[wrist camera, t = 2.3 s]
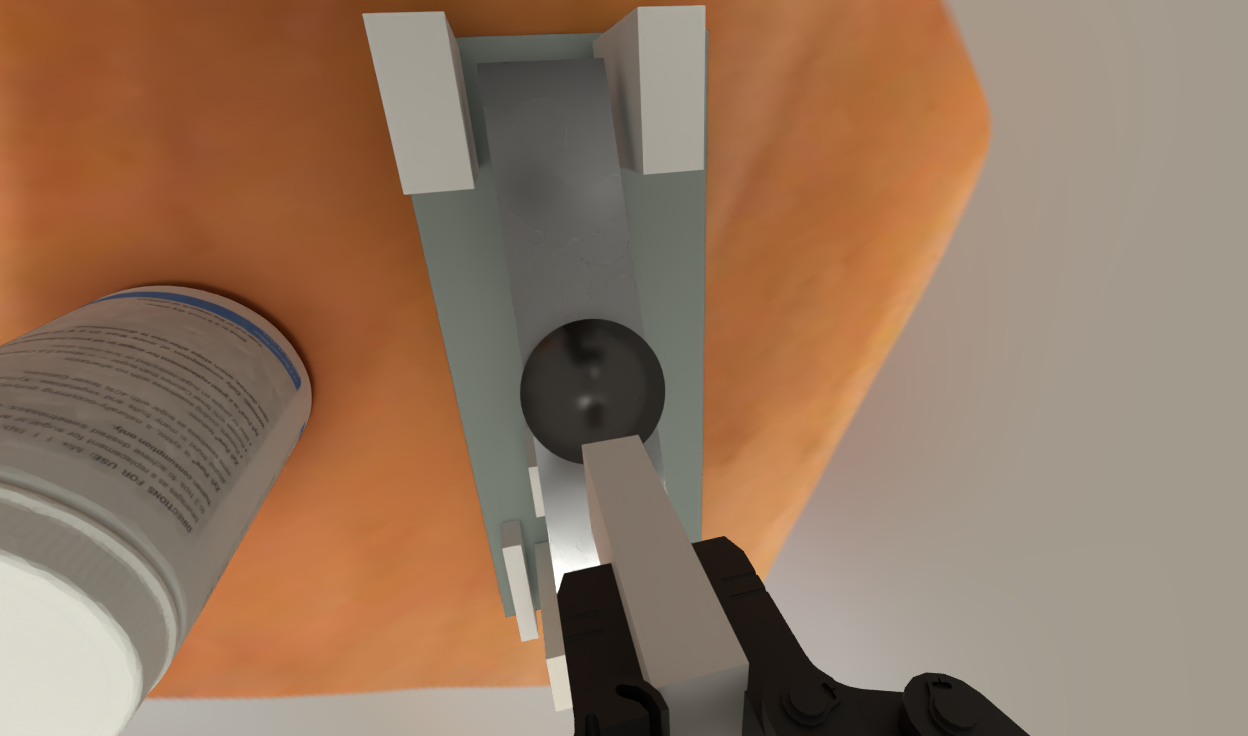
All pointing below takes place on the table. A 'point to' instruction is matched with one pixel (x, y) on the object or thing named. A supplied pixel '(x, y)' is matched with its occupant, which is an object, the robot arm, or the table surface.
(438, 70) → the mount
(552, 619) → the block
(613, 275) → the grey long flat bar
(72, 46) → the table surface
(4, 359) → the supplement tub
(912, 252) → the table surface
